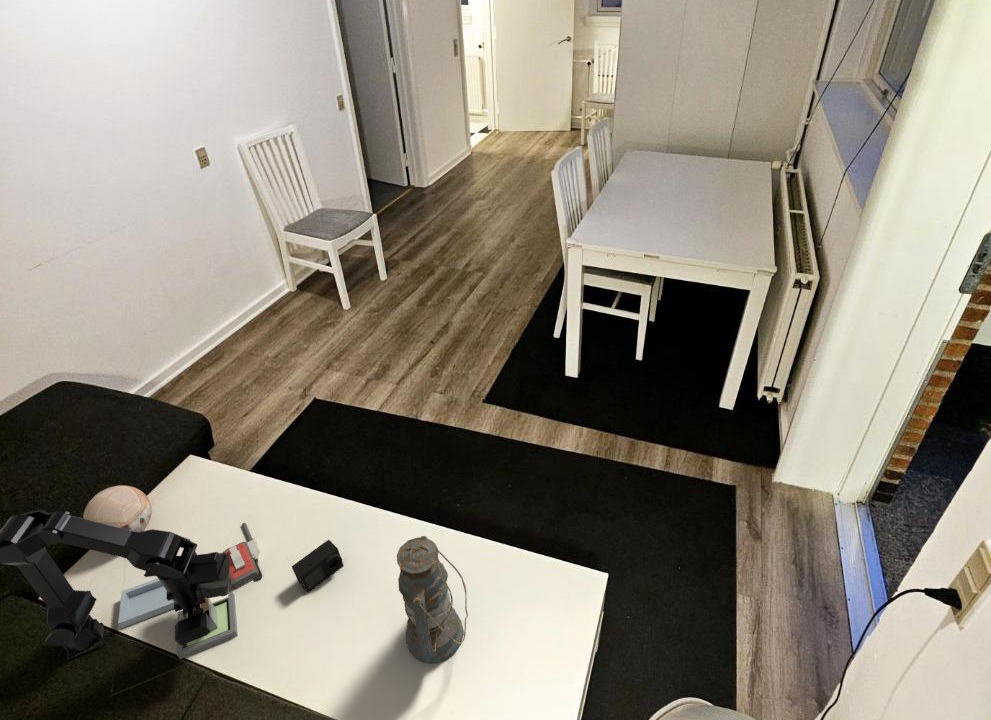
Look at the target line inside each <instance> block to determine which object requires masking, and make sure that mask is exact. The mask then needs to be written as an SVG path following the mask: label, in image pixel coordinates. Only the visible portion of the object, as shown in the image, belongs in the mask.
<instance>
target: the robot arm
mask: <svg viewBox="0 0 991 720" xmlns="http://www.w3.org/2000/svg"><path fill="white" fill-rule="evenodd" d="M59 543H61V544H65V545H69V546H74V547H78V548H82V549H87V550H91V551H93V552H100V553H104V554H108V555H112V556H116V557H120V558H123V559H126V560H127V561H128V562H129V563H130V564H131V565H132V566H133V568H135V569H138V570H142V571H144V574H143V577H145V578H151V577H156V578H158V579H159V580H160V582H161V583H162V585H163V586H164V588H165V589H166V591H167V596H166V598H167V600H168V601H170V600H173V601H174V608H173V610H174V612H175V613H178V612H180V611H183V615H186V614H188V616H187V618H185V619H183V620H181V621H178V620H177V622H176V624H175V625H174V641H175V642H176V643H177V644H178V645H184V644H185V645H187V643H189V642H191V641H194V640H196V639H199V638H201V637H204V636H206V635H208V633H209V632H210V621H209V620H210V615H209V610H207V611H204V609H203V608H201V604H203V603H205V602H206V598H213V597H219V596H226V595H227V594H228V593H229V592H230V579H229V570H230V561H229V557H228V555H227V554H225V553H223V552H218V551H214V552H209V553H201V554H197V552H196V550H197V548H198V544H197V543H196V542H193V541H191V539H190V538H187V537H185V536H184V537H183V536H181V535H178V534H177V533H175V532H172V531H166V530H160V529H154V528H153V529H148V530H144V531H142V532H135V531H130V530H126V529H122V528H118V527H114V526H110V525H106V524H102V523H99V522H95V521H91V520H87V519H83V517H80V516H79V517H78V516H75V515H74V514H73V513H71V512H69V511H66V510H57V511H53V512H49V511H46V510H43V509H36V510H32V511H29V512H26V513H25V512H24V513H21V514H14V515H12V516H10V517H9V518H8V519H7V521H6V522H5V524H4V525H3V527H1V529H0V564H1V565H9V566H16V567H17V568H18V570H19V571H20V572H21V574H22V575H23V576H24V578H25V579H26V580H27V582H28V583H29V585H30V586H31V587H32V588H33V590H34V591H35V592H36V593H37V595H38V596H39V597H40V599H41V600H42V601H43V603H44V604H45V606H46V607H47V610H46V611H47V613H46V623H47V625H48V628H49V630H50V631H49V634H48V636H47V637H46V638H45V641H44V643H46V644H47V645H49V646H51V647H58V646H59V647H60V646H62V647H63V648H64V649H65V650H66V651H67V655H66V659H67V660H68V659H70V660H72V659H71V658H73V657H75V654H76V655H77V653H80V652H83V651H84V650H86V649H88V648H90V647H91V646H92V645H94V643H96V642H98V641H100V639H103V638H104V631H105V628H104V622H99V620H98V619H97V618H93V617H92V615H91V613H92V611H93V608H94V606H95V604H96V602H97V598H96V597H95V596H94V595H93V594H92V591H91V590H77V589H74V588H73V586H72V585H71V584H70V582H69V580H67V577H65V575H64V573H63V572H62V571H61V569H60V568H59V567H58V565H57V563H56V562H55V561H54V559H53V558H52V556H51V555H50V554H49V552H48V551H47V549H46V548H47V546H50V545H56V544H59ZM180 548H182V551H181V554H180V555H178V553H179V550H180ZM195 609H196V610H195ZM99 645H100V644H99ZM74 652H75V653H74ZM69 656H70V657H69ZM75 658H76V657H75ZM73 659H74V658H73Z"/></svg>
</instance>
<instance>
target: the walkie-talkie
mask: <svg viewBox="0 0 991 720" xmlns="http://www.w3.org/2000/svg"><path fill="white" fill-rule="evenodd" d="M241 527H242V530H243V531H244V532H245V536H246V537H247V542H246V541H241V542H239V543H237V544H235V545H233V546H232V547H228V548H226V549H225V550H223V552H222V553H225V554H227V555H228V557H229V561H230V570H229V582H230V584H231V586H232V587H233V589H239V588H240V587H243V586H245V585H246V584H248V583H250V582H252V581H253V580H257V581H260V580H261V579H262V578H263V573H262V571H261V568H260V567H259V566H260V565H259V556H260V554H261V549H260V548H259V546H258V542H257V540H256V538H253V536H252V533H251V532H250V529H249V528H248V525H247V523H246V522H243V523H242V524H241Z"/></svg>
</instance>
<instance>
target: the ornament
mask: <svg viewBox="0 0 991 720" xmlns="http://www.w3.org/2000/svg"><path fill="white" fill-rule="evenodd" d="M152 512H153V511H152V504H151V502H150V500H149V497H148V496H147V494H145V493H144V491H142V490H140V489H139V488H137V487H134V486H130V485H115V486H114V485H113V486H110V487H107V488H104V489H103V490H101V491H99V492H98V493H97V494H95V495H94V496H93V497H92V498H91V500H90V501H88V503H87V505H86V507H85V509H84V512H83V516H82V518H83V519H87V520H91V521H95V522H99V523H102V524H106V525H110V526H114V527H118V528H122V529H126V530H130V531H135V532H142V531H145V530H146V529H147V527H148V525H149V523H150V521H151V518H152Z"/></svg>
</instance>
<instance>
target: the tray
mask: <svg viewBox="0 0 991 720" xmlns="http://www.w3.org/2000/svg"><path fill="white" fill-rule="evenodd" d="M120 594H121V595H120V602H119V603H120V605H119V615H118V622H117V623H118V626H120V627H121V628H122V629H123V628H127V627H128V626H131V625H134V624H136V623H140V622H142V621H144V620H147V619H149V618H152V617H155V616H157V615H160V614H163V613H165V612H167V611H170V610H174V601H173V600H170V601H168V600H167V598H166V596H167V591H166V589H165V588H164V586H163V585H162V583H161V582H160V580H159V579H158V577H156V578H154V579H152V580H149V581H147V582H143V583H140V584H138V585H135V586H133V587H129V588H127V589H125V590H122V591H121V593H120Z"/></svg>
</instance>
